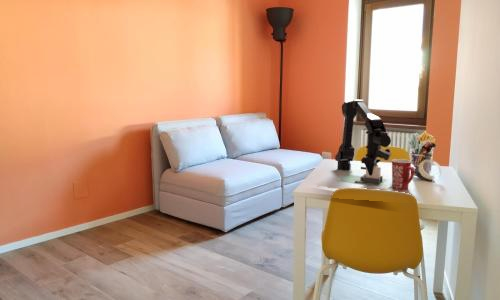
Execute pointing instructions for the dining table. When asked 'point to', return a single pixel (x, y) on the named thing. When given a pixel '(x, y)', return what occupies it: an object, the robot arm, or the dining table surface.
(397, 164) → the mug
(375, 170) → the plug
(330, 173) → the dining table surface
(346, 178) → the board
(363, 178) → the header
